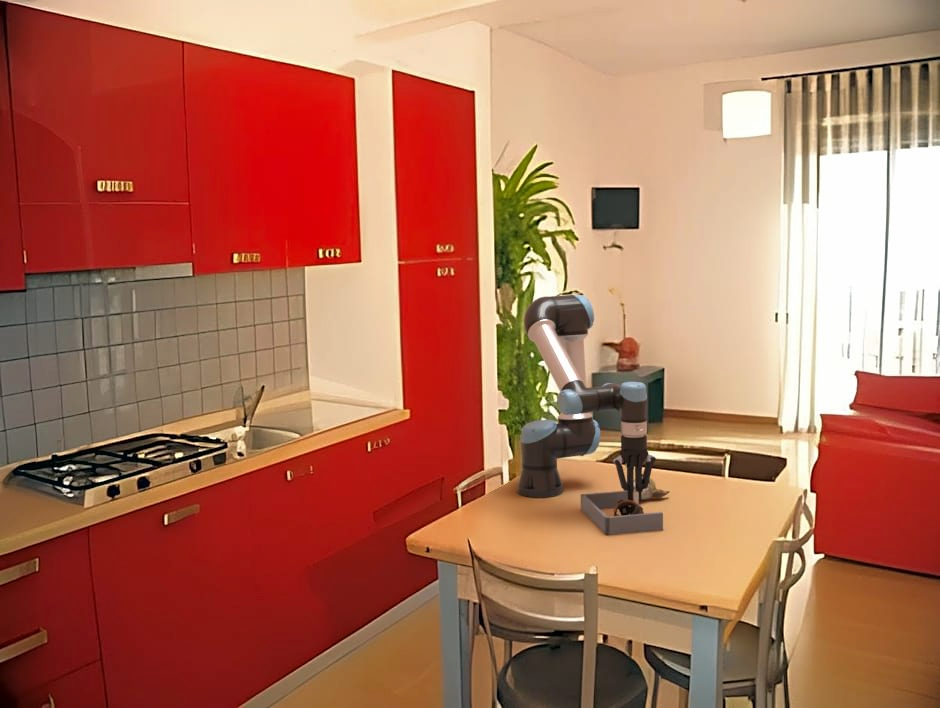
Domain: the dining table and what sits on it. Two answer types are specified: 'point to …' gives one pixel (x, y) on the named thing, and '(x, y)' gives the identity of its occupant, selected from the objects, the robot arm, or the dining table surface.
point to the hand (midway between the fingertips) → (634, 512)
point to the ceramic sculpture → (651, 491)
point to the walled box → (617, 523)
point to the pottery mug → (628, 508)
